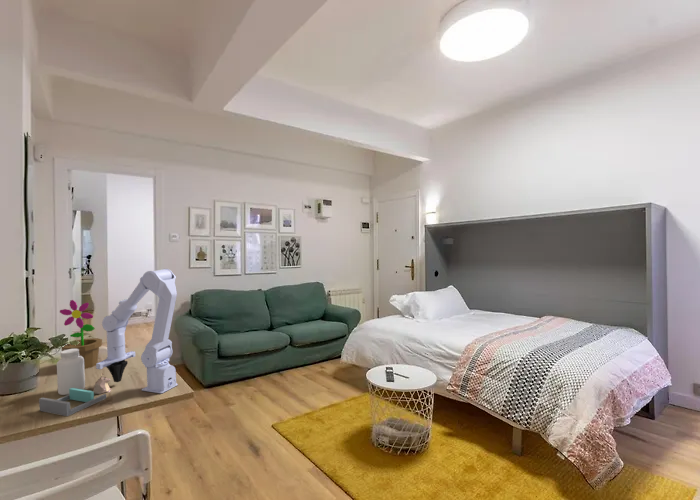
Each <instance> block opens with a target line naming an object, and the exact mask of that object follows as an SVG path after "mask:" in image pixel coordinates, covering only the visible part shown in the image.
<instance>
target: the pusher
mask: <svg viewBox="0 0 700 500" xmlns="http://www.w3.org/2000/svg"><path fill="white" fill-rule="evenodd" d="M69 396H70V399H69V400H71V401H72V400H73V401H77V402H82V403H86V402H88V401H90V400H92V399H95V393H94V390H93V391H92V390H89V389H88V390H87V389H83V390H82V389H76V388H71V389H69Z"/></svg>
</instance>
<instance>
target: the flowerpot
mask: <svg viewBox="0 0 700 500" xmlns="http://www.w3.org/2000/svg"><path fill="white" fill-rule="evenodd" d="M89 305H90V304H89V302H85V303H82V304H81V305H80V306H79V307H78V304H77V302H76V301H75V300H74V299H71V300H70V301H69V307H70V309H66V308H63V309H60V310H59V313H60V314H61V315H62V316H63V315H64V316H69V317H67V318H66V319H65V321H64V323H63V324H64V326H68V325H71V324H72V323H73V322H74V321H75V323H76V324H75V325H76V326H77V327H78V328H80V332H74V333H72V334H70V335H69V336H70V338H71V337H72V338H80V339H77V341H79V342H80V343H79V344H78V345H76V346H75V345H71V344H67V345H65V346H64V347H62V346H61V352H62V351H64V350H68V349H79V355H78V356H82V357H83V358H84V370H86V369H90V368H93V367H96V364H97V363H99V360H98V359H99V353H100V348H101V347H102V345H103V339H102V338H98V337H97V338H96V337H95V338H93V337H91V338H90V337H89V338H84V332H92V331H94V330H95V327H94V326H93V325H91V324H87V323H86V324H84V321H83V319H87V320H90V319H93V318H94V315H93V314H91V313H90V312H84V311H86V310H87V309H88V307H89ZM82 318H83V319H82Z"/></svg>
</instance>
